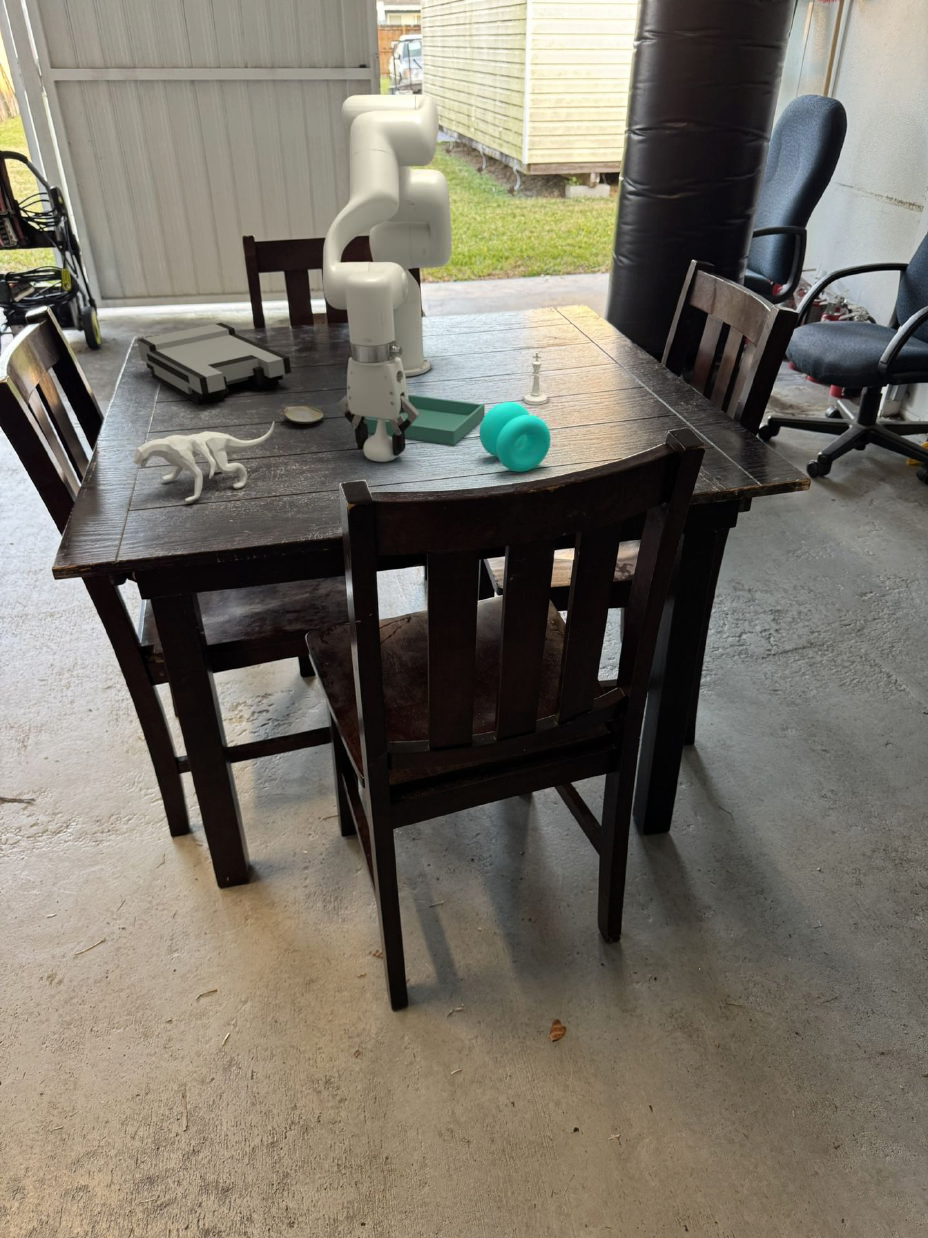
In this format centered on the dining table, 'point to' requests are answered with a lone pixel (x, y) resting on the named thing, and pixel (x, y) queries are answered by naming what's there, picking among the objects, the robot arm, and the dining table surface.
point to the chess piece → (536, 385)
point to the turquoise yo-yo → (514, 436)
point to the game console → (211, 362)
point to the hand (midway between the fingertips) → (380, 449)
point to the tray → (437, 420)
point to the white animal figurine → (205, 444)
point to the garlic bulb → (379, 444)
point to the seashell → (302, 414)
